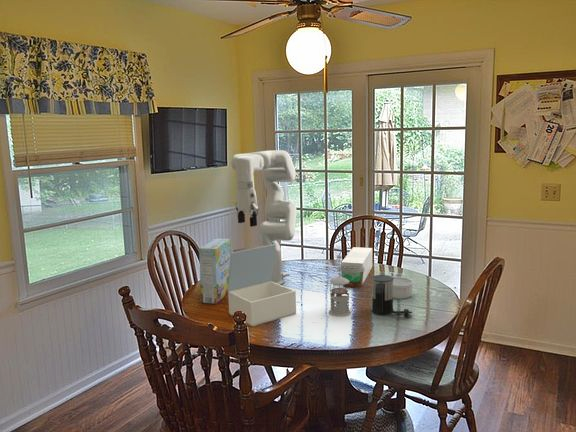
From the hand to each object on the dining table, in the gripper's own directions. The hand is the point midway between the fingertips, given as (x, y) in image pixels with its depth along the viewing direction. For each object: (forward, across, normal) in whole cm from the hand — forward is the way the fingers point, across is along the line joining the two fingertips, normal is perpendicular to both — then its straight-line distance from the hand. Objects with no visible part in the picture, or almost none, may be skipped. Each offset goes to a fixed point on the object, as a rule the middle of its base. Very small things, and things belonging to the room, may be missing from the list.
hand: (247, 224), depth 222 cm
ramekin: (+37, -35, -58) cm, 77 cm away
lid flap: (+17, -7, +3) cm, 19 cm away
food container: (+37, -12, -49) cm, 63 cm away
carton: (+36, -14, +4) cm, 39 cm away
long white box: (+38, +1, -67) cm, 77 cm away
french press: (+36, -33, -22) cm, 54 cm away
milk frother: (+37, -49, -38) cm, 72 cm away
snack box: (+37, +19, +7) cm, 42 cm away
